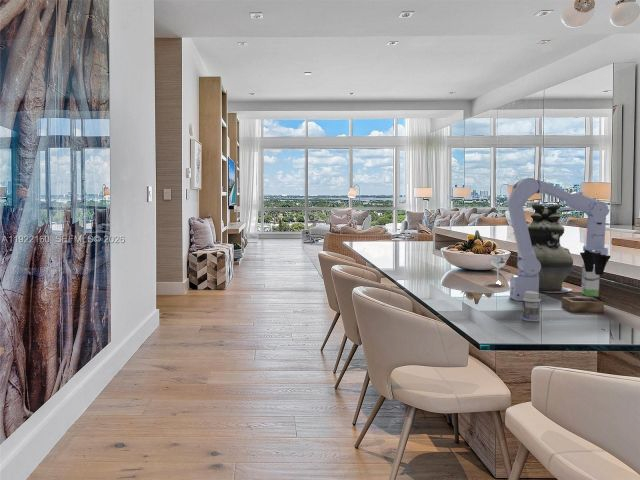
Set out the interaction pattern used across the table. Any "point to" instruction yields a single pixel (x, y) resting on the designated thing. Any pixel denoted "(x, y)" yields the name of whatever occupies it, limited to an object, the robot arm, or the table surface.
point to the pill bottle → (531, 306)
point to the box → (582, 305)
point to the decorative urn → (549, 249)
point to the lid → (583, 297)
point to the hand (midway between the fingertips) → (593, 273)
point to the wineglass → (498, 264)
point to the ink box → (589, 282)
